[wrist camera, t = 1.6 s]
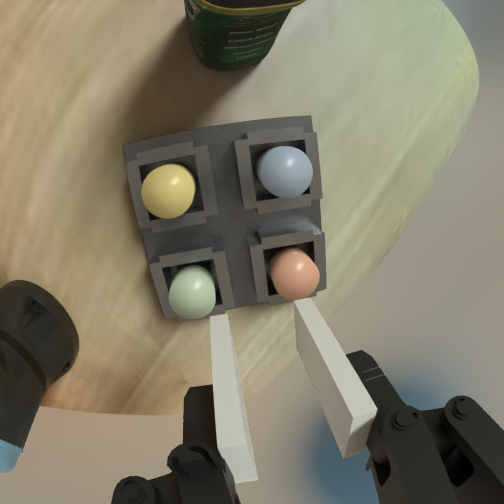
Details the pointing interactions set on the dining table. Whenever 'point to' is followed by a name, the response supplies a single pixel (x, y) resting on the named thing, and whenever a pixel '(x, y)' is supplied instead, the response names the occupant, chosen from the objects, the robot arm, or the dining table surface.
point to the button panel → (229, 209)
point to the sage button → (192, 292)
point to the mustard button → (168, 190)
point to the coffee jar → (235, 29)
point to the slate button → (284, 171)
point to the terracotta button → (293, 273)
